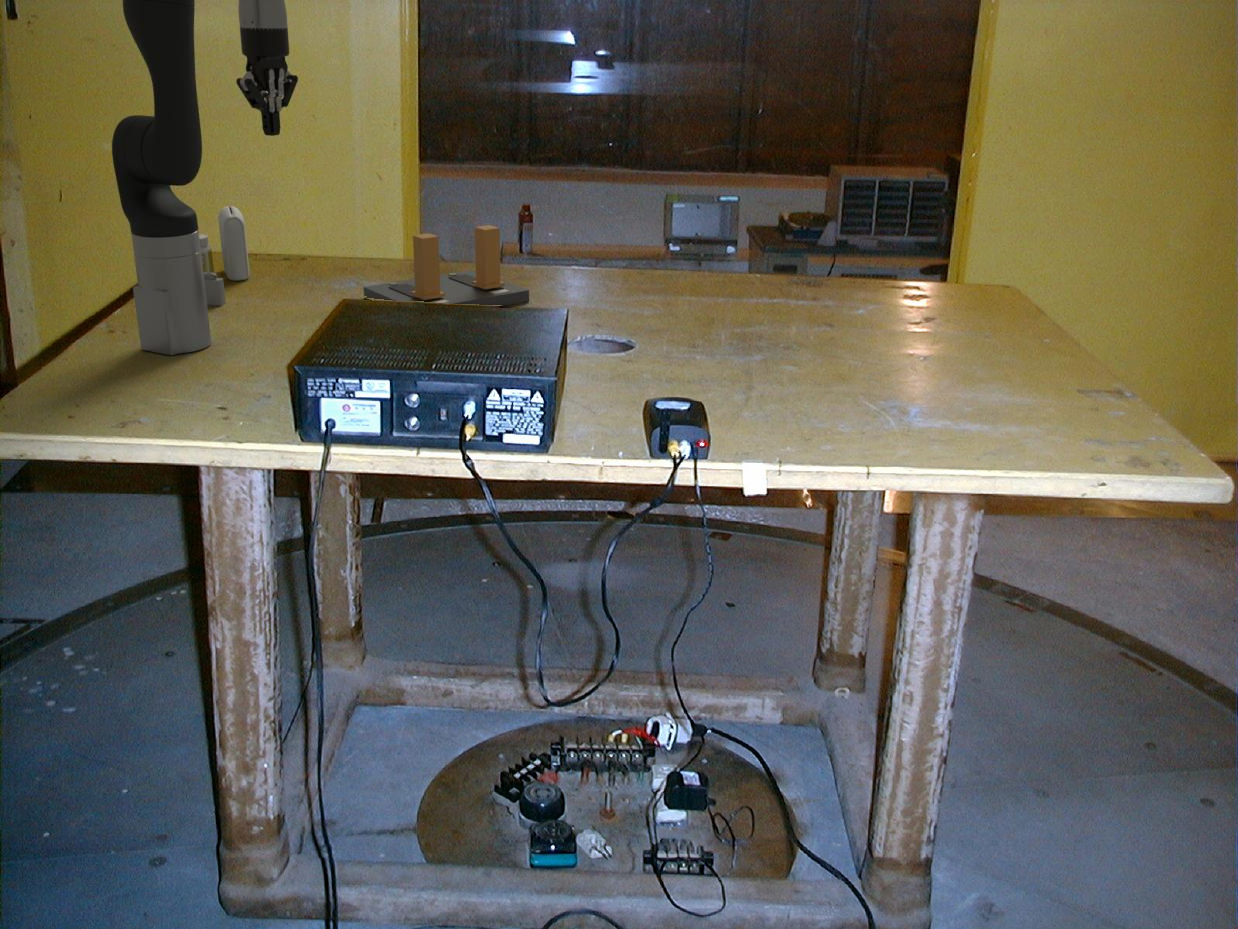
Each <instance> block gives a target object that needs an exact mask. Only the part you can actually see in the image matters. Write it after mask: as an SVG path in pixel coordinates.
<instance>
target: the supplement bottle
mask: <svg viewBox="0 0 1238 929" xmlns="http://www.w3.org/2000/svg"><path fill="white" fill-rule="evenodd" d="M199 239H200V247H201V257H202V266H203V273H204V272H210V273H215V268H214V261H213V259H214V258H213V250H212V247H211V246H210V245H209V243H210V242H209V236H208V235H206V234H200V233H199Z"/></svg>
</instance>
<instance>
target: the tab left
mask: <svg viewBox="0 0 1238 929" xmlns="http://www.w3.org/2000/svg"><path fill="white" fill-rule="evenodd" d="M412 245H413V247H412V249H413V267H414V268H413V269H414V279H415V291H411V295H413V296H415V297H417V298H420V299H422V300H428V299H433V298H439V297H445V293H443V292H441V291H440V275H441V272H440V270H441V269H440V268H441V267H440V246H439V236H438V235H435V234H433V233H427V232H426V233H420V234H413V235H412Z"/></svg>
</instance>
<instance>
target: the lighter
mask: <svg viewBox="0 0 1238 929" xmlns="http://www.w3.org/2000/svg"><path fill="white" fill-rule="evenodd" d="M203 274H204V283H205V292H206V301H207V306H216V307H217V306H220V307H221V306H224V305H226V292H225V284H224V278H223V277H218V275H217V274H216V273H215V272H214V273H210V272H204V273H203Z"/></svg>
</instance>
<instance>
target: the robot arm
mask: <svg viewBox="0 0 1238 929" xmlns="http://www.w3.org/2000/svg"><path fill="white" fill-rule="evenodd" d="M195 3H196V2H195V0H122V11H123V16H124V20H125V22H126V25H127V27H128V30H129V33H130V34H131V36H132V39H133V40H134V43H135V45H136V46H137V49H138V50H139V52H140V54H141V56H142V59H143V61H144V63H145V64H146V67H147V70H148V72H149V75H150V80H151V83H152V84H151V85H152V92H153V104H154V106H153V110H154V112H153V116H152V115H141V114H140V115H139V114H138V115H137V114H136V115H135V114H133V115H129V116H126V117H124V118H123V119H121V120H120V121H119V122H118V124H117V125H116V127H115V129H114V131H113V135H112V141H111V155H112V163H113V164H112V165H113V169H114V175H115V179H116V185H117V190H118V194H119V200H120V206H121V208H122V211H123V214H124V216H125V218H126V219H127V221H128V223H129V228H130V235H131V241H132V242H131V244H132V249H133V257H134V263H135V265H134V266H135V273H136V280H137V285H135V286H134V287H132V288H133V289H132V291H133V298H134V305H135V313H136V320H137V328H138V333H139V334H138V335H139V342H140V349H141V350H142V351H148V352H152V353H157V354H164V355H169V356H176V355H177V354H183V353H191V352H197V351H200V350H203V349H206V348H207V347H209V346H210V345H211V344H212V338H211V329H210V320H209V318H210V317H209V311H208V305H207V301H206V292H205V283H204V274H203V266H202V257H201V247H200V239H199V234H200V231H199V230H200V229H199V222H198V216H197V213H196V210H194V209H193V208H192V207H191V206H189V205H188V204H186V203H185V202H183V201H182V200H181V199H179V197H177V196H176V194H175V192H174V191H173V190H172V187H175V186H177V187H180V186H181V187H183V186H187V185H189V184H190V183H192V182H193V181H194V180H195V178H196V177H197V175H198V174H199V170H200V169H201V164H202V158H203V157H202V156H203V140H202V128H201V120H200V119H201V118H200V112H199V111H200V110H199V100H198V92H197V80H196V60H195V59H196V54H195V10H196V9H195ZM238 21H239V22H238V24H239V34H240V45H241V47H240V48H241V53H242V55H243V56H245V57H246V65H245V71H246V72H245V74H244V75H243V77H237V78H236V85H237V87H238V88H239V89H240V91H241V93H242V95H243V96H244V98H245V100H246V101H247V102H248V104H249V105H250V107H251V108H252V109H255V110H258V111H259V112H260V114H261V124H262V131H263V134H264V135H265V136H270V137H271V136H272V137H273V136H274V137H275V136H279V135H280V134H281V118H280V117H281V116H280V114H281V113H280V112H281V111H282V109H283V108H287V107H289V104H290V102H291V98H292V97H293V94H294V91H295V89H296V87H297V84H298V81H299V77H298V75H295V74H292V73H290V71H289V70H288V68H289V67H288V63H287V61H286V57H288V56H289V55H290V43H289V28H288V25H289V24H288V13H287V7H286V2H285V0H238ZM171 186H172V187H171Z"/></svg>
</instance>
